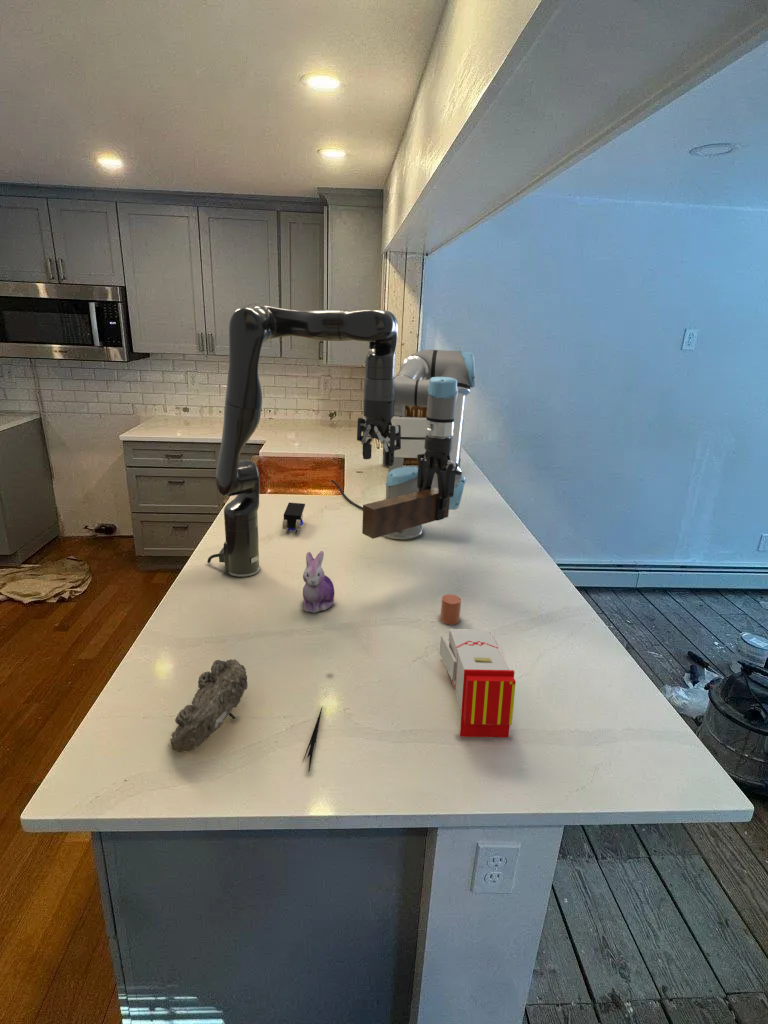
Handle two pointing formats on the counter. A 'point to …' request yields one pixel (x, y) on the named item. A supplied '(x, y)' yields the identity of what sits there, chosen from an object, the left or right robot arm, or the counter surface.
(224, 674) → the fossil
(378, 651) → the counter surface
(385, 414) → the left robot arm
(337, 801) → the counter surface
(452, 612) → the cylinder block
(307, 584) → the figurine
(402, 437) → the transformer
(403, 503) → the bar
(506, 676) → the toy
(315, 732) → the feather
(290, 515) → the figurine character
